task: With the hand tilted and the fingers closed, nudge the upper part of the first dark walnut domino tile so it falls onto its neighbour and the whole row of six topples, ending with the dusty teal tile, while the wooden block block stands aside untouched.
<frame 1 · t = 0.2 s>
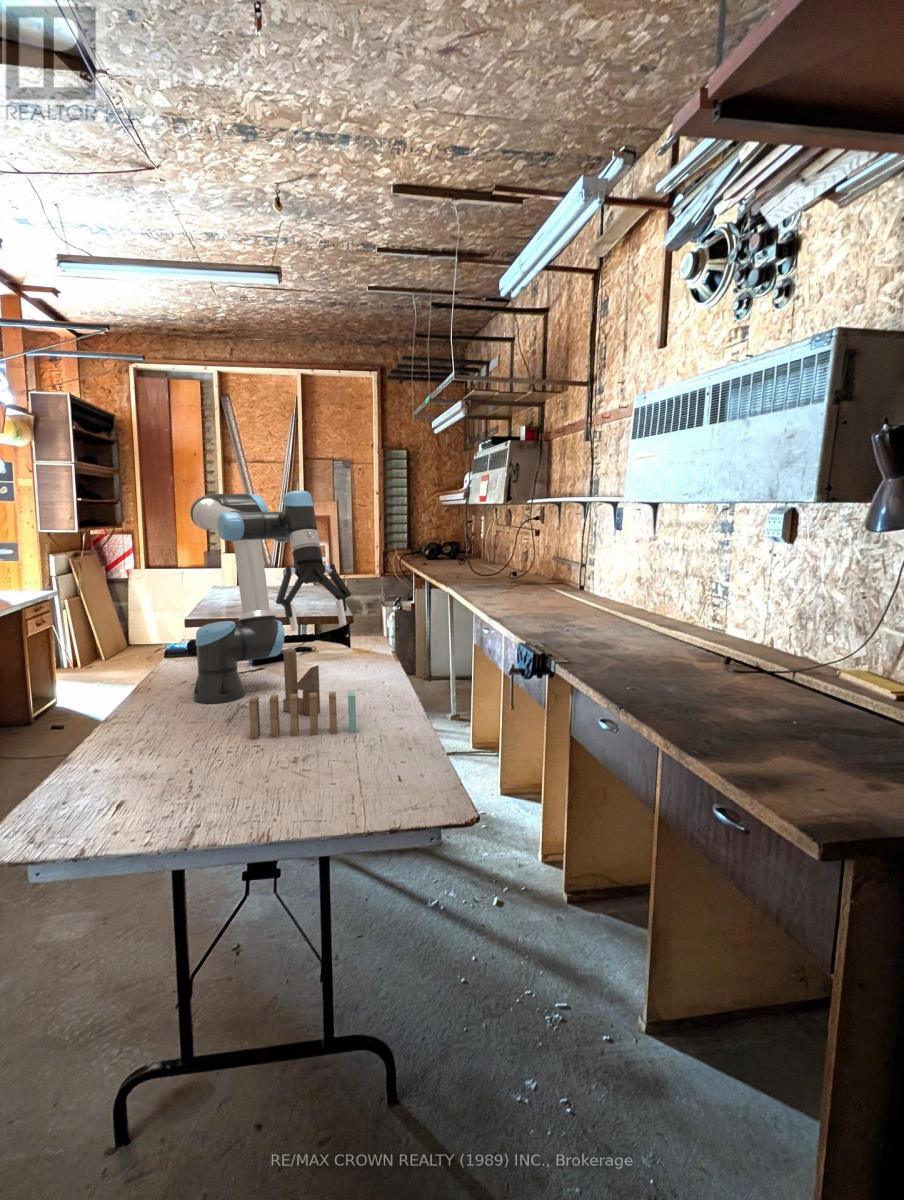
hand: (319, 627, 171), 28 cm above the table, tool tilted 20°, fingers open, 13 cm apart
wooden block: (301, 712, 190), on the table
domino 1: (255, 735, 170), on the table
domino 4: (314, 731, 173), on the table
domino 2: (275, 734, 171), on the table
domino 6: (352, 729, 174), on the table
domino 5: (333, 730, 173), on the table
domino 3: (295, 733, 172), on the table
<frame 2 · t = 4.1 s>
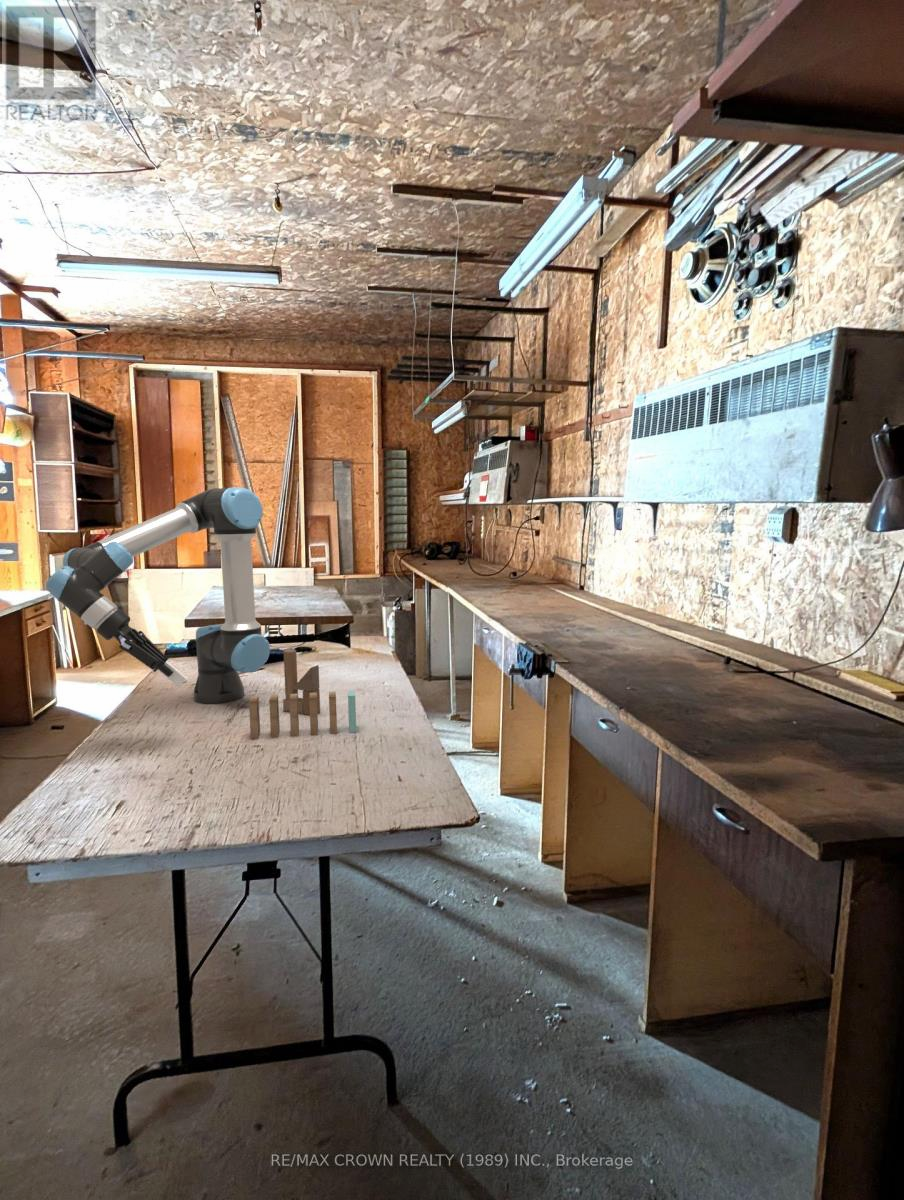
hand: (182, 682, 165), 15 cm above the table, tool tilted 45°, fingers closed
nothing on the table moved.
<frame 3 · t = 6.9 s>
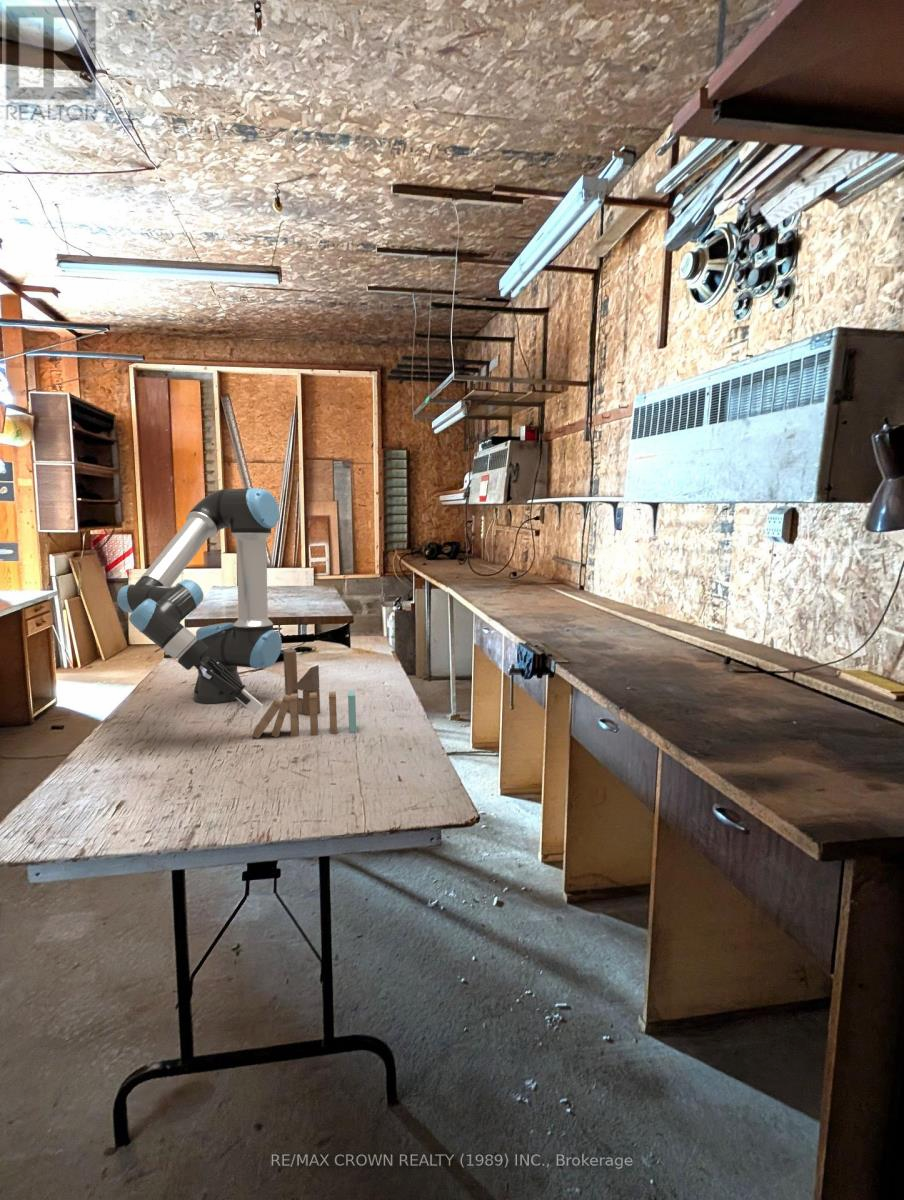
hand: (258, 709, 169), 7 cm above the table, tool tilted 45°, fingers closed
domino 1: (256, 733, 170), point 1 cm above the table, tilted 36°, touching domino 2
domino 2: (275, 733, 171), on the table, tilted 19°, touching domino 1, domino 3
domino 3: (295, 733, 172), on the table, touching domino 2
everything else where it was.
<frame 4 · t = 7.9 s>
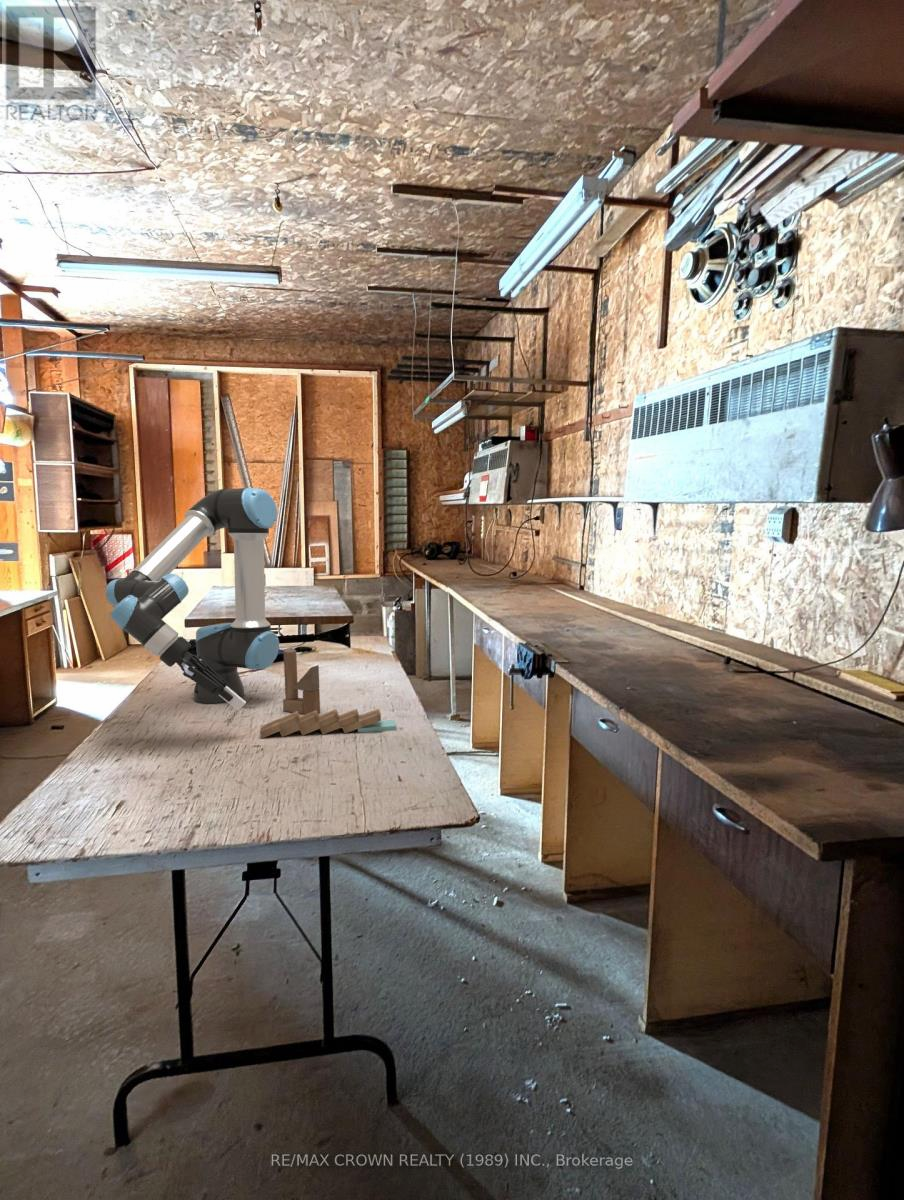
hand: (242, 706, 168), 8 cm above the table, tool tilted 45°, fingers closed
domino 1: (262, 732, 170), point 1 cm above the table, tilted 69°, touching domino 2
domino 4: (321, 728, 173), point 1 cm above the table, tilted 71°, touching domino 3, domino 5
domino 2: (281, 730, 171), point 1 cm above the table, tilted 69°, touching domino 1, domino 3
domino 6: (357, 728, 174), on the table, tilted 90°, touching domino 5
domino 5: (344, 727, 173), point 1 cm above the table, tilted 72°, touching domino 4, domino 6
domino 3: (301, 729, 172), point 1 cm above the table, tilted 69°, touching domino 2, domino 4
everything else where it was.
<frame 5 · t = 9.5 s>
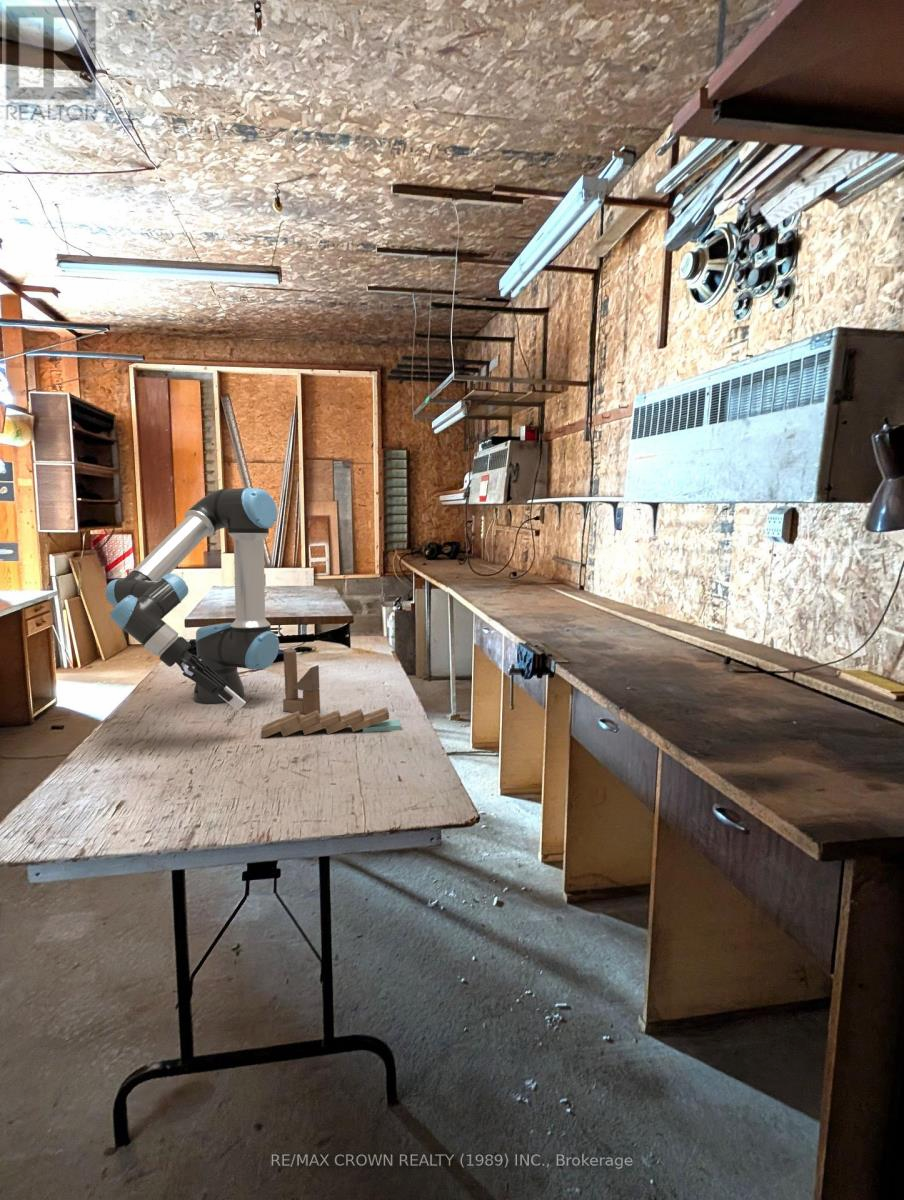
hand: (241, 706, 168), 8 cm above the table, tool tilted 45°, fingers closed
domino 4: (327, 728, 173), point 1 cm above the table, tilted 71°, touching domino 3, domino 5
domino 6: (362, 728, 175), on the table, tilted 90°, touching domino 5
domino 5: (352, 725, 174), point 1 cm above the table, tilted 72°, touching domino 4, domino 6
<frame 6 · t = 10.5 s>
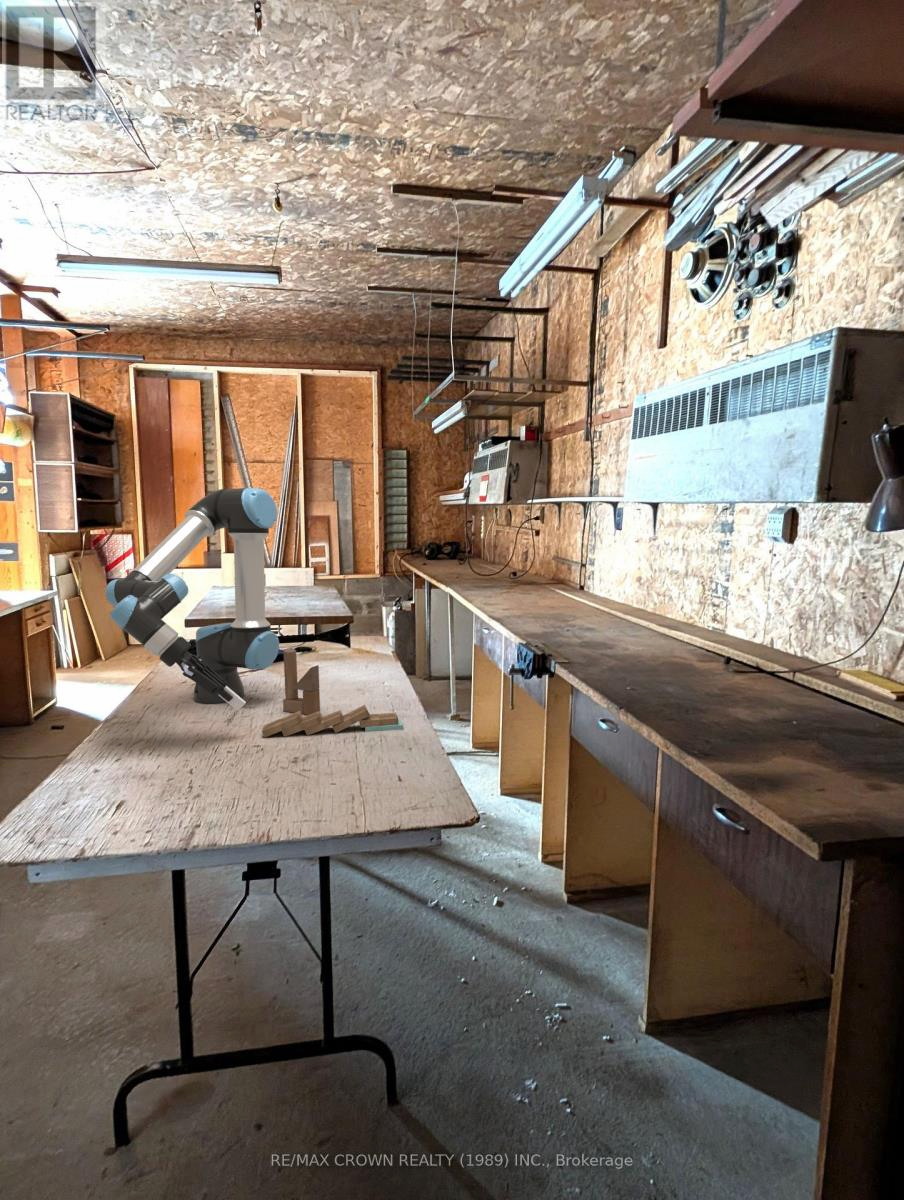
hand: (241, 706, 168), 8 cm above the table, tool tilted 45°, fingers closed
domino 4: (333, 727, 173), point 1 cm above the table, tilted 67°, touching domino 3
domino 5: (359, 721, 175), point 2 cm above the table, tilted 90°, touching domino 6
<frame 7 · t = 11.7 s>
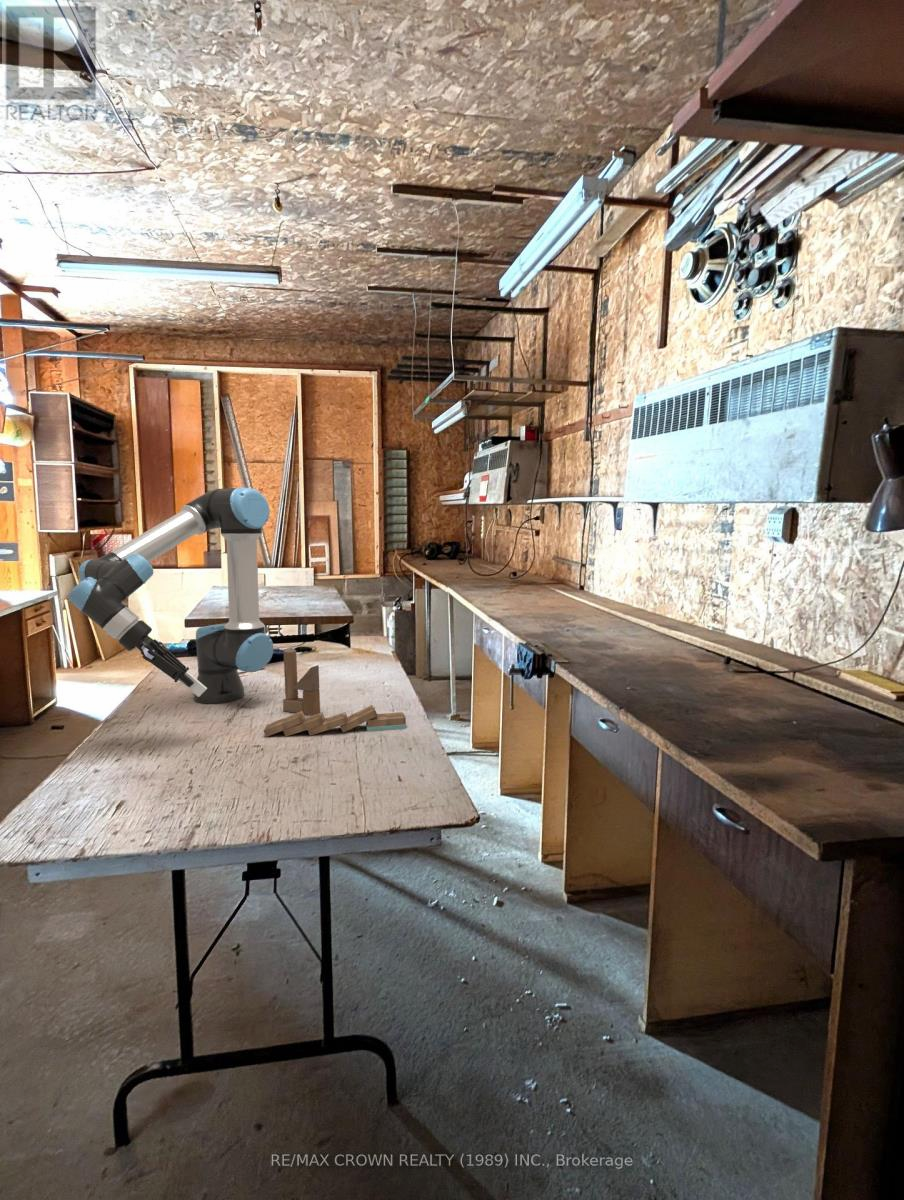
hand: (202, 692, 166), 12 cm above the table, tool tilted 45°, fingers closed
domino 4: (340, 727, 174), point 1 cm above the table, tilted 67°, touching domino 3, domino 5
domino 2: (286, 730, 171), point 1 cm above the table, tilted 73°, touching domino 1
domino 5: (367, 721, 175), point 2 cm above the table, tilted 90°, touching domino 4, domino 6
domino 3: (309, 729, 172), point 1 cm above the table, tilted 74°, touching domino 4
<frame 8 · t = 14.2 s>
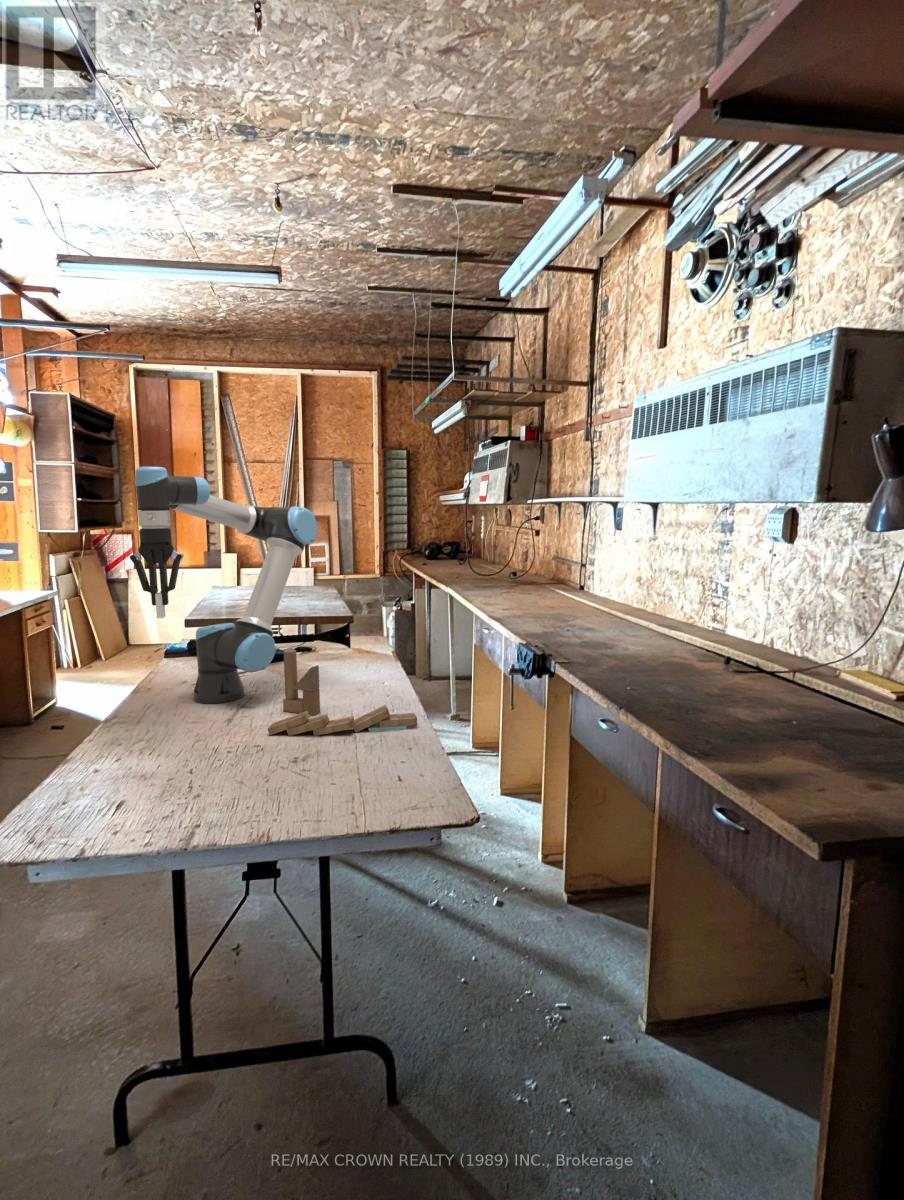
hand: (161, 617, 172), 30 cm above the table, tool pointing down, fingers closed
domino 1: (271, 729, 172), point 1 cm above the table, tilted 71°, touching domino 2
domino 4: (353, 726, 174), point 1 cm above the table, tilted 66°, touching domino 3, domino 5
domino 2: (290, 729, 172), point 1 cm above the table, tilted 74°, touching domino 1, domino 3
domino 5: (378, 721, 175), point 2 cm above the table, tilted 89°, touching domino 4, domino 6
domino 3: (315, 729, 172), point 1 cm above the table, tilted 79°, touching domino 2, domino 4
at the end: domino 1 tilted 70°; domino 6 tilted 90° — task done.
